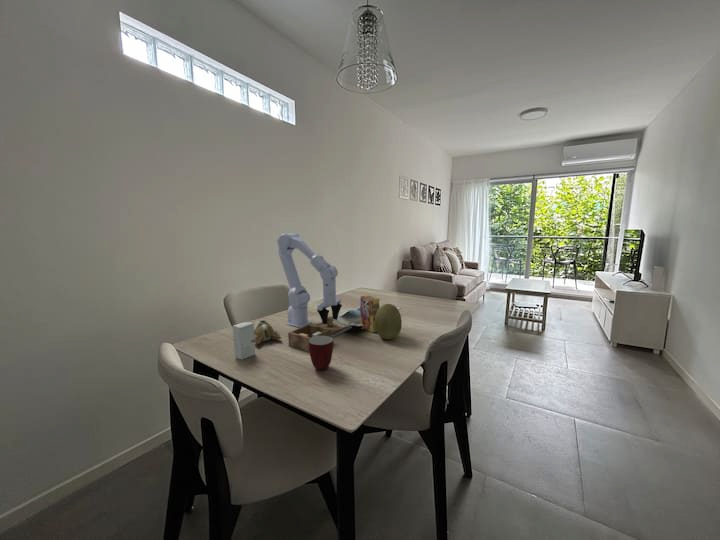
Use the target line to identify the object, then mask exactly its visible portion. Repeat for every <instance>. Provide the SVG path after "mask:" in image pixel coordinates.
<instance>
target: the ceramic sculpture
mask: <svg viewBox="0 0 720 540" xmlns="http://www.w3.org/2000/svg"><path fill="white" fill-rule="evenodd" d="M253 325H254V342H255V344H256V345H260V344H261V343H263V342H266V341H270V340H271V339H273V340H280V339H282V337H281V334H280V333H279V332H278V331H277V330H275V329H274V328H273V326H271V324H270V323H268V321H266V320H262V319H259V318H257V320H256V321H255V322H254V323H253Z"/></svg>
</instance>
